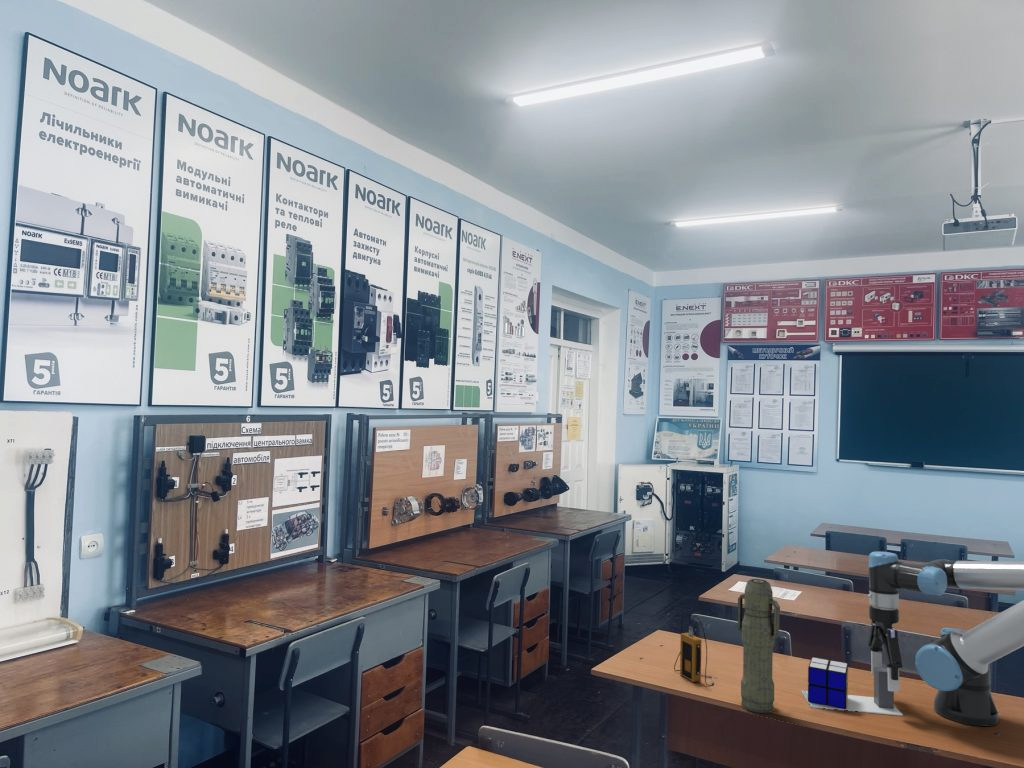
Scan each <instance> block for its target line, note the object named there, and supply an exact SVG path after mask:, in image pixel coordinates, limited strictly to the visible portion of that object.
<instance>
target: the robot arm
mask: <svg viewBox="0 0 1024 768" xmlns="http://www.w3.org/2000/svg"><path fill="white" fill-rule="evenodd" d="M867 569H868V593H869V594H867V595H866V596H867V598H868V600H869V607H868V608H869V609H868V610H869V612H868V613H869V615H868V617H869V620H871V623H870V625H871V626H870V631H869V632H870V633H869V636H868V637H869V638H868V644H867V645H868V647H870V648H869V649H870V659H871V660H870V661H871V664H870V667H871V670H870V671H871V675H873V676H874V667H883V653H882V652H883V648H884V651H885V655H886V659H887V662H888V663H887V664H886V665H885V666H886V667H885V668H888V691H894V693H895V692H897V693H898V692H899V693H900V669H903V661H902V656H901V651H900V650H901V649H900V644H899V637H898V630H896V629H893V625H894V624H898V623H899V620H900V617H899V616H900V615H899V614H900V613H899V612H900V611H899V609H898V608H899V606H900V602H899V601H900V599H899V597H900V594H899V590H905V591H908V592H914V593H920V594H924V595H927V596H930V595H931V596H938V597H940V596H943V595H944V594H945V592H946V590H947V588H949V589H980V590H981V589H983V590H1006V591H1007V590H1008V591H1024V560H1022V561H1012V560H1008V561H1007V560H948V559H941V558H940V559H939V558H938V559H935V560H931V561H928V562H923V563H920V564H916V563H908V562H903V561H899V556H898V554H897V553H893V552H890V551H889V552H888V551H872V552H870V553H869V554H868V567H867ZM939 637H940V638H938V639H937V640H935V641H933V642H931V643H929V644H924V645H922V646H921V647H920V649H918V651H917V652H916V654H915V659H914V660H915V663H914V665H915V668H916V671H917V673H918V675H919V677H920V678H921V679H922V680H923V682H924V683H925V684H927V685H928V686H929V687H931V688H933V689H936V690H937V691H936V694H935V696H934V701H933V709H934V711H935V713H937V714H938V715H940V716H942V717H944V718H946V719H948V720H951V721H954V722H958V723H961V724H965V725H969V726H977V727H993V726H996V725H998V724H999V712H998V709H997V705H996V704H995V701H994V698H993V695H992V693H991V663H993V662H995V661H997V660H999V659H1001V658H1003V657H1004V656H1007V655H1009V654H1011V653H1012V652H1015V651H1016V650H1019V649H1021V648H1022V647H1024V599H1023V600H1021V601H1019V602H1017V603H1016V604H1013V605H1012V606H1010V607H1009V608H1007V609H1005V610H1003V611H1000V612H999V613H997V614H996V615H994V616H993V617H989V618H988V619H987V620H985V621H983V622H981V623H980V624H977V625H976V626H974V627H973V628H970V629H969V630H964V629H960V628H959V629H958V628H954V627H943V628H941V629H940V634H939ZM883 646H884V647H883ZM882 647H883V648H882Z"/></svg>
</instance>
